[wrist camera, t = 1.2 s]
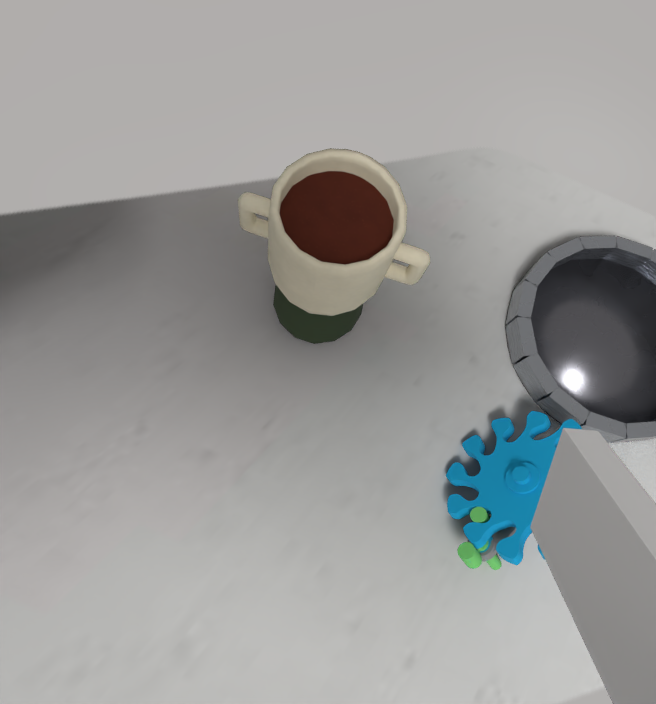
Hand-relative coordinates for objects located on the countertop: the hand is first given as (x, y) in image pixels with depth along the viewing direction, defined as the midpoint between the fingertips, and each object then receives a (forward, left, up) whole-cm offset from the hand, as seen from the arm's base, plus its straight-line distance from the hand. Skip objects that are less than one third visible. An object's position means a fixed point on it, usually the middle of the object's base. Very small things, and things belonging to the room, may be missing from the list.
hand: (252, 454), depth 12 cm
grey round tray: (+20, +19, -25) cm, 37 cm away
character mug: (-1, +14, -26) cm, 29 cm away
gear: (+15, +5, -26) cm, 30 cm away
